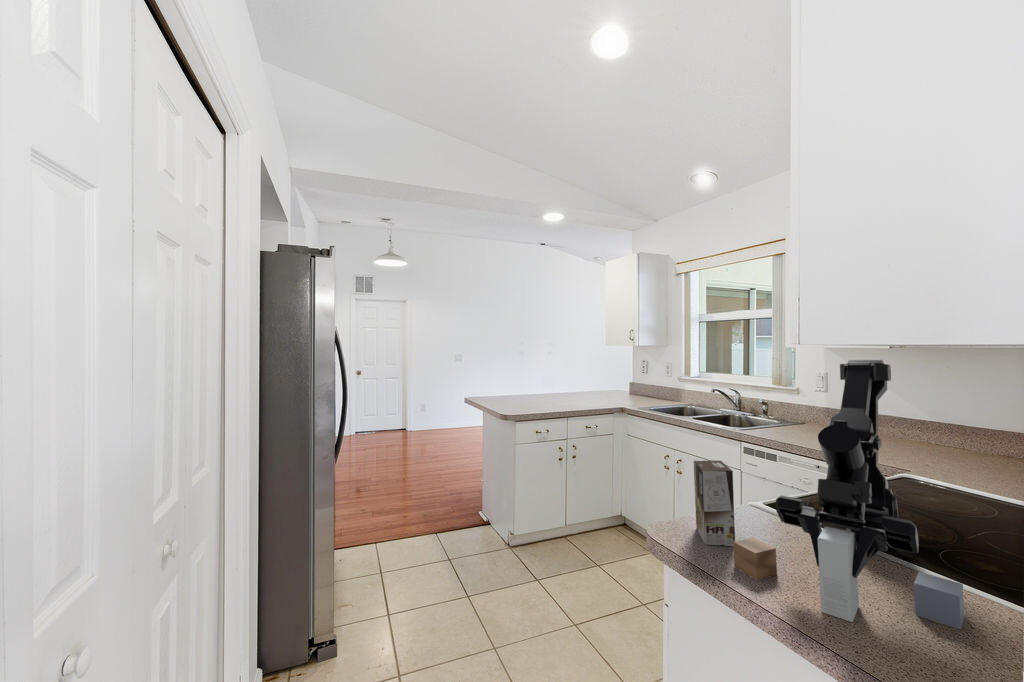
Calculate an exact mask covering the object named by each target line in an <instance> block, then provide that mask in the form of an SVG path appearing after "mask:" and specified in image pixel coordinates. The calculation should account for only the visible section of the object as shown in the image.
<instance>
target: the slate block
mask: <svg viewBox="0 0 1024 682" xmlns="http://www.w3.org/2000/svg"><path fill="white" fill-rule="evenodd" d="M913 589H914V591H913V592H914V614H916V616H918V617H922V618H924V619H927V620H930V621H934V622H936V621H937V622H936V623H939V622H940V624H942V623H943V625H945V624H946V626H948V625H949V626H948V627H951V628H954V629H958V630H962V628H963V623H964V618H965V605H964V604H965V601H964V584H963V583H961V582H958V581H955V580H954V581H953V580H949V579H947V578H944V577H940V576H936V575H933V574H928V573H925V572H923V571H918V573H917V575H916V578H915V580H914V582H913Z"/></svg>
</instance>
